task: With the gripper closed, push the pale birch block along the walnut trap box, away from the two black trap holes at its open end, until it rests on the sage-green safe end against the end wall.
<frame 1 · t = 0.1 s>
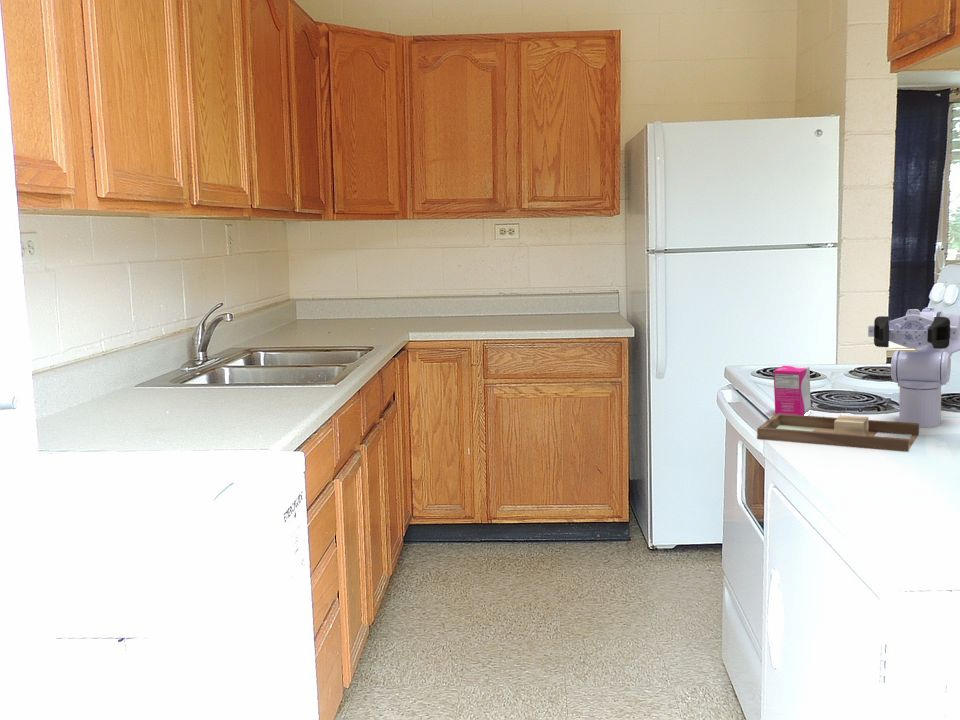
hand: (904, 334, 153), 22 cm above the countertop, tool horizontal, fingers open, 7 cm apart
trap box: (837, 444, 167), on the countertop
supplement box: (792, 422, 186), on the countertop
birch block: (851, 437, 165), point 1 cm above the countertop, touching trap box
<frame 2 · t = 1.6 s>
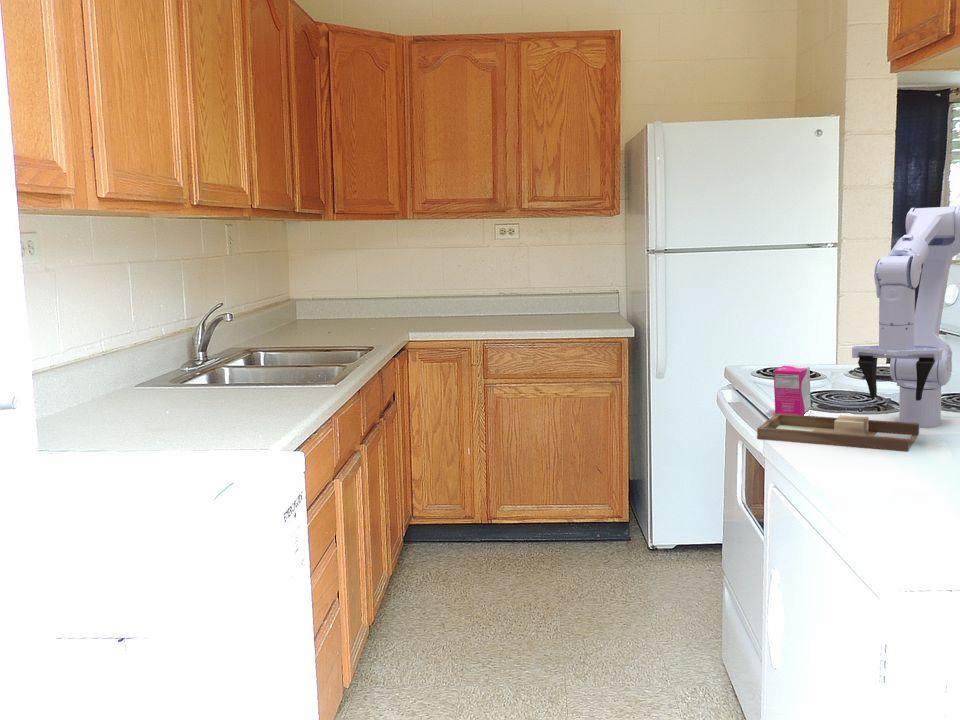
hand: (895, 398, 160), 9 cm above the countertop, tool pointing down, fingers open, 7 cm apart
nothing on the countertop moved.
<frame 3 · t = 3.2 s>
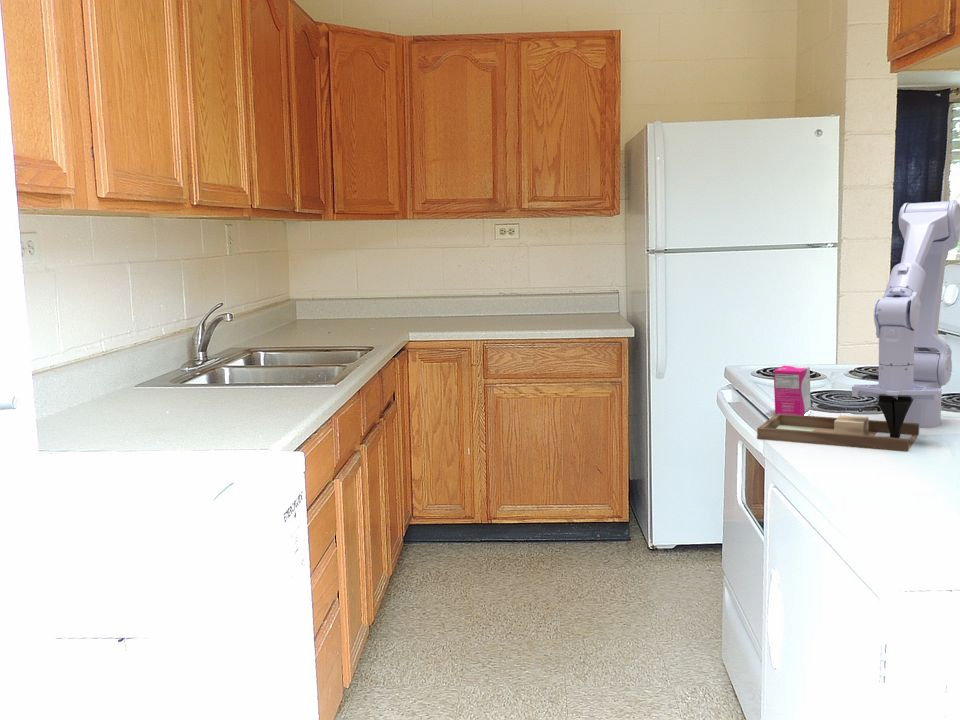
hand: (895, 437, 161), 2 cm above the countertop, tool pointing down, fingers closed
nothing on the countertop moved.
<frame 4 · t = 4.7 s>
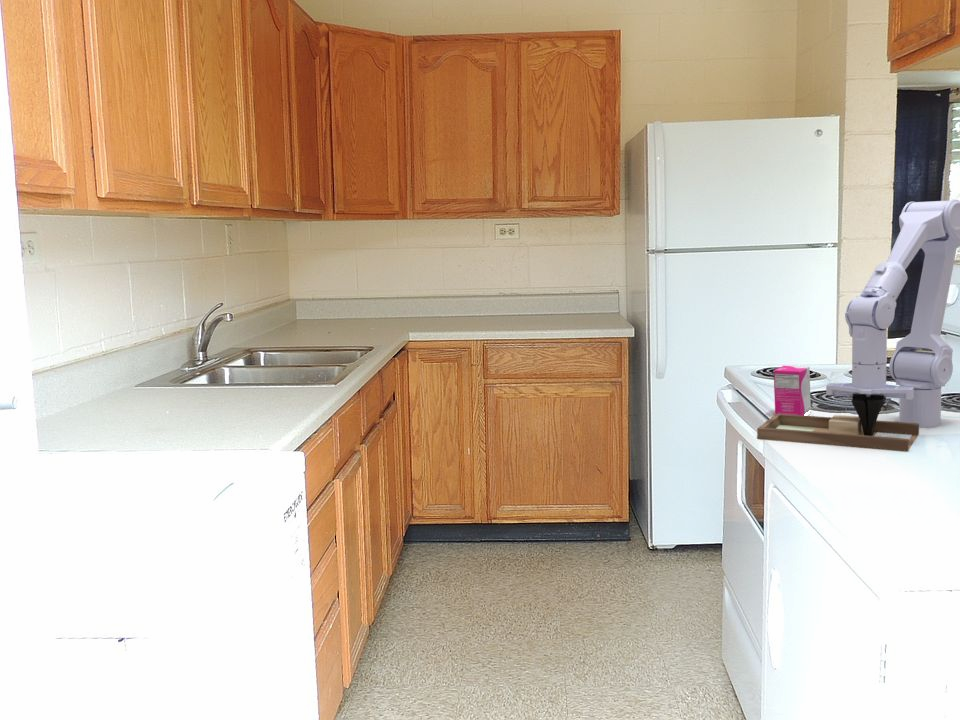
hand: (868, 435, 163), 2 cm above the countertop, tool pointing down, fingers closed
birch block: (845, 437, 166), point 1 cm above the countertop, touching gripper, trap box
everything else where it was.
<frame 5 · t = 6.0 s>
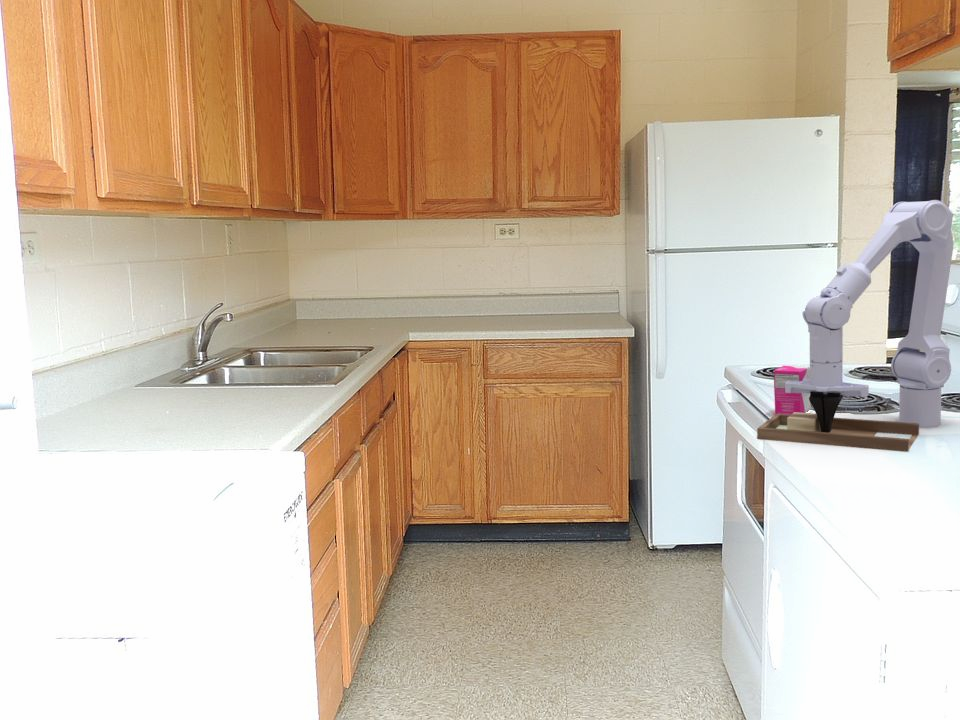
hand: (826, 431, 168), 2 cm above the countertop, tool pointing down, fingers closed
birch block: (804, 433, 170), point 2 cm above the countertop, touching gripper
everything else where it was.
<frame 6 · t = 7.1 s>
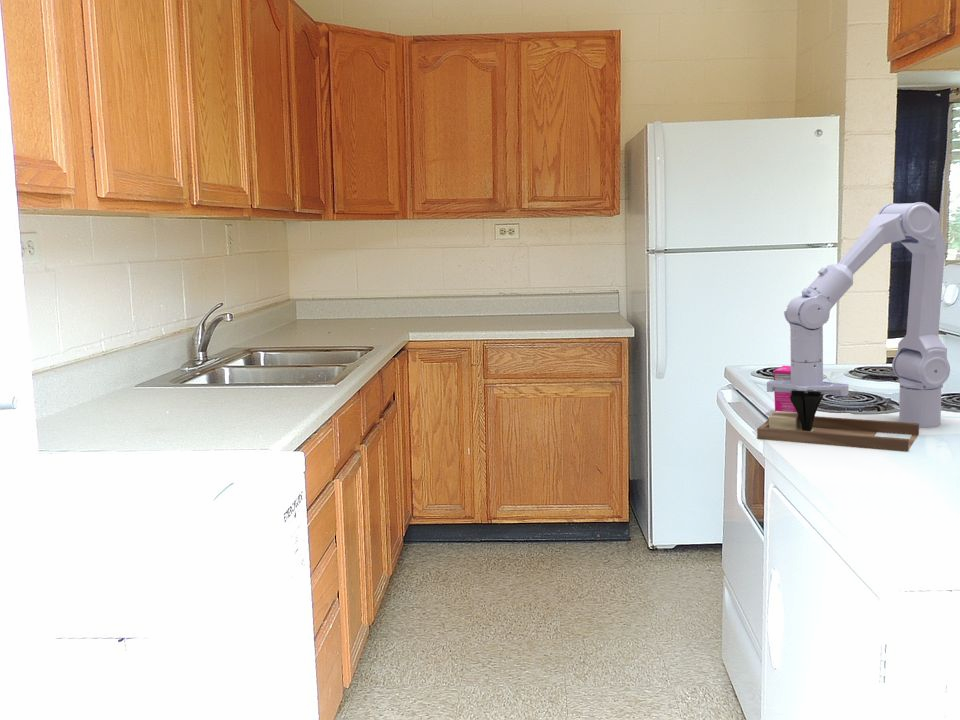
hand: (807, 430, 170), 2 cm above the countertop, tool pointing down, fingers closed
birch block: (785, 432, 172), point 1 cm above the countertop, touching gripper, trap box
everything else where it was.
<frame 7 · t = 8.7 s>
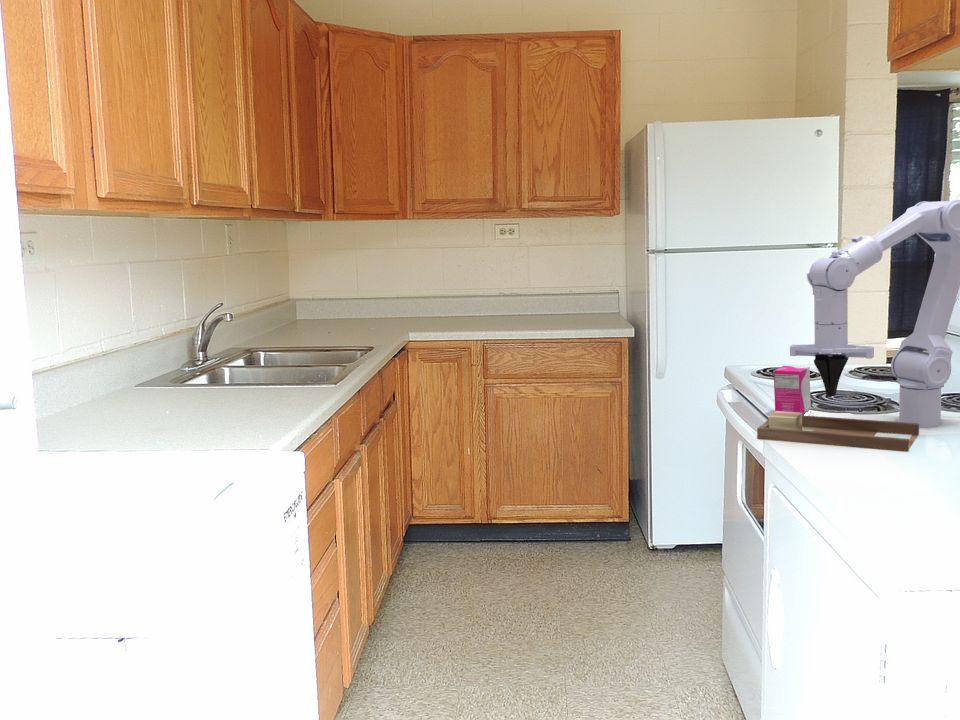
hand: (831, 394, 166), 9 cm above the countertop, tool pointing down, fingers closed
birch block: (785, 432, 172), point 1 cm above the countertop, touching trap box
everything else where it was.
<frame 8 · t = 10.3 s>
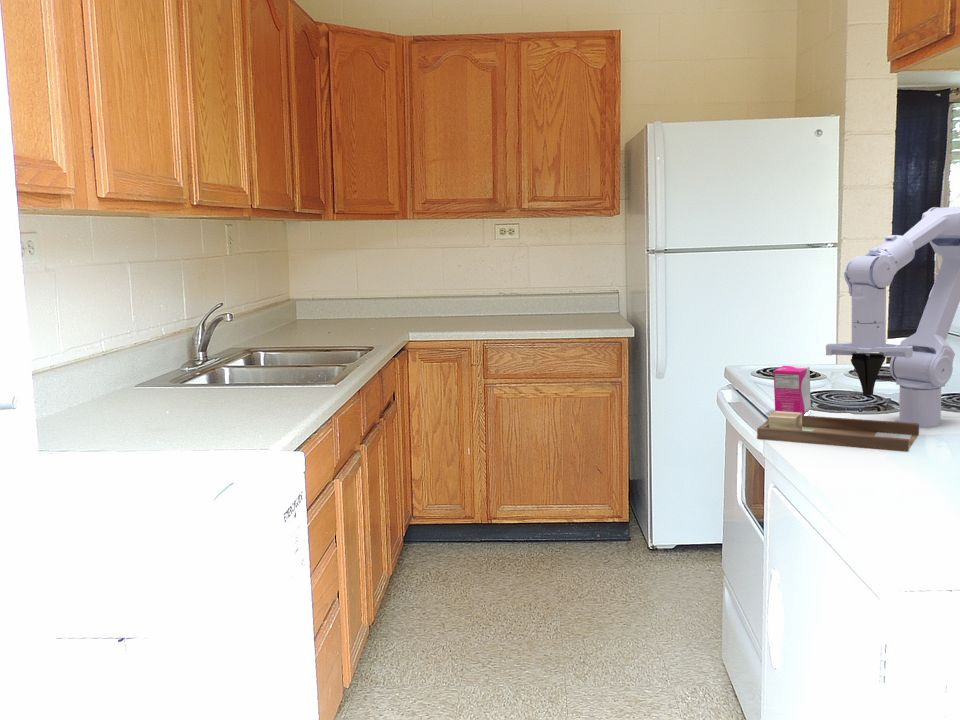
hand: (868, 394, 164), 9 cm above the countertop, tool pointing down, fingers closed
nothing on the countertop moved.
at the end: birch block inside the target area (0.8 cm from its centre), point 1.5 cm above the countertop; birch block tilted 0° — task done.
